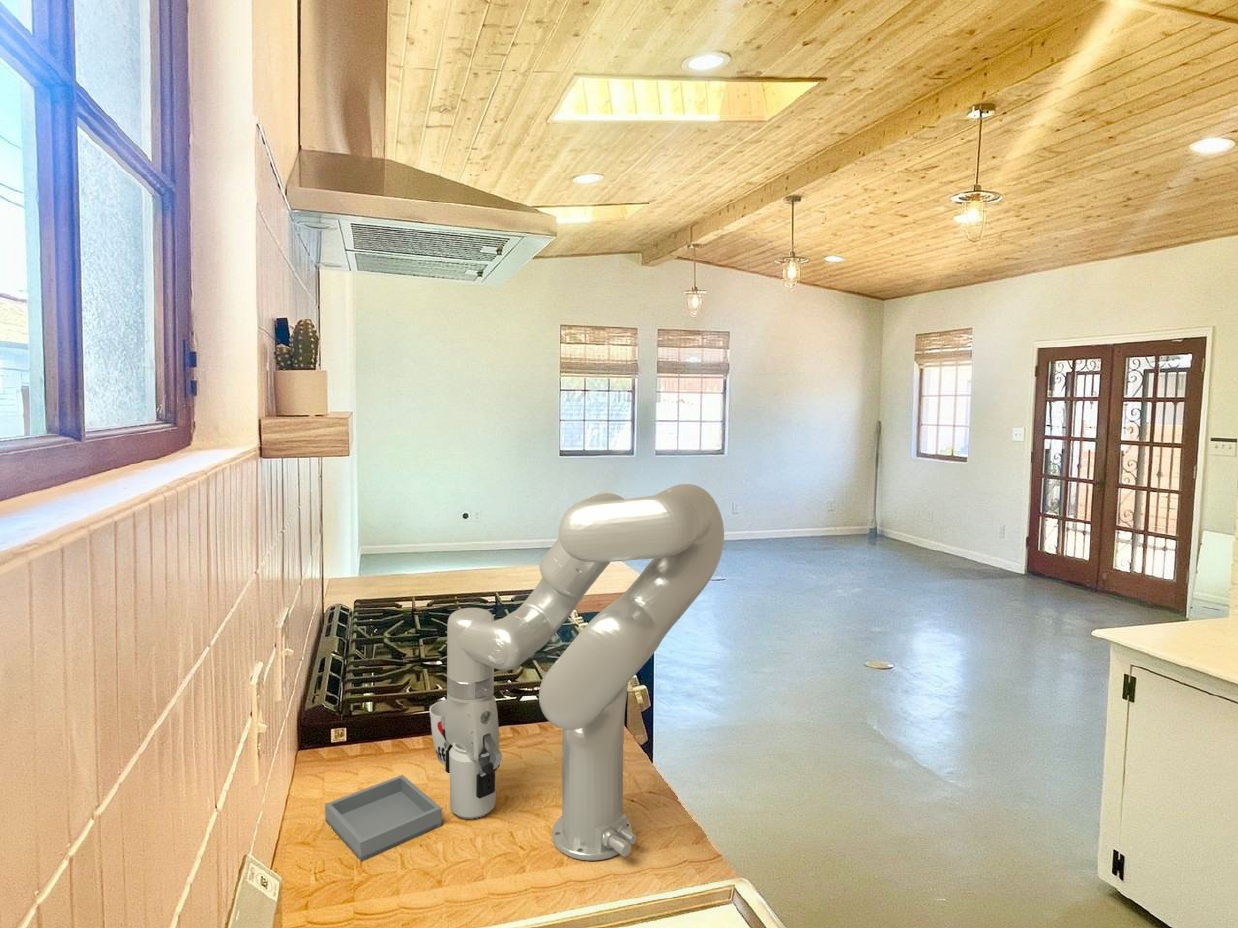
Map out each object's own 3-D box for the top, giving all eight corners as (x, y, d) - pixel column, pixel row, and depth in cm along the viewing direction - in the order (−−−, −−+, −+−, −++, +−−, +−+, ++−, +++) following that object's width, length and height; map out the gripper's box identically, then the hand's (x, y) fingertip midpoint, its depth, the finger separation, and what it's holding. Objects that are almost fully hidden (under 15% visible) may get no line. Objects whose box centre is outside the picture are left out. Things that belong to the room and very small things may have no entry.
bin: (442, 825, 121) (441, 807, 121) (361, 861, 112) (360, 842, 112) (402, 790, 131) (402, 774, 131) (325, 821, 122) (324, 803, 121)
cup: (421, 760, 141) (420, 709, 140) (453, 743, 148) (452, 694, 147) (451, 773, 137) (450, 721, 135) (483, 755, 143) (482, 705, 142)
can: (485, 824, 121) (485, 754, 120) (442, 818, 123) (441, 749, 121) (502, 799, 129) (501, 732, 127) (461, 793, 130) (460, 728, 129)
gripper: (519, 696, 119) (518, 796, 122) (462, 662, 132) (462, 754, 134) (479, 709, 114) (478, 814, 117) (424, 673, 127) (423, 768, 129)
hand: (469, 782), depth 125 cm, fingers open, 9 cm apart
